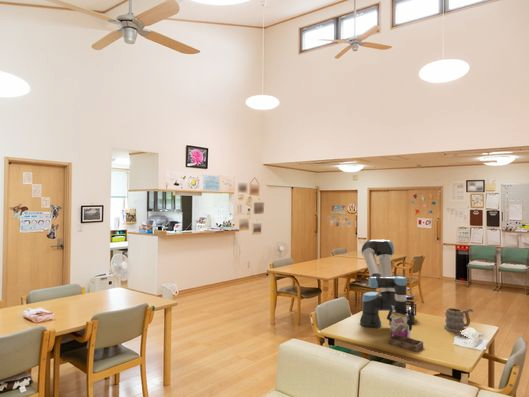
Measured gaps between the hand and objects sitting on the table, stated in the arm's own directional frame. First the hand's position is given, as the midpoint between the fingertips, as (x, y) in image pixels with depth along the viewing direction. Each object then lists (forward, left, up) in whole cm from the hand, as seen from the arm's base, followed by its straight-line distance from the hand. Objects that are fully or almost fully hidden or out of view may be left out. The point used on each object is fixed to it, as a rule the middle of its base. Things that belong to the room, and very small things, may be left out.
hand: (400, 332), depth 256 cm
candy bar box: (0, 0, -3) cm, 3 cm away
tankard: (+22, +47, -3) cm, 52 cm away
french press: (-16, +48, -3) cm, 51 cm away
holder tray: (+9, -12, -3) cm, 15 cm away
